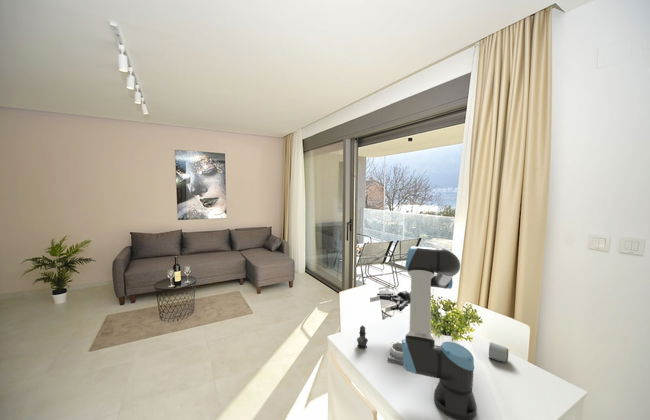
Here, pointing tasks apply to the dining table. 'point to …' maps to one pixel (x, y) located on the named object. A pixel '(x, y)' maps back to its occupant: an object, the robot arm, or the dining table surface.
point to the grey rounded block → (498, 352)
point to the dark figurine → (362, 339)
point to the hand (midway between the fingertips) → (377, 304)
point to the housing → (396, 353)
